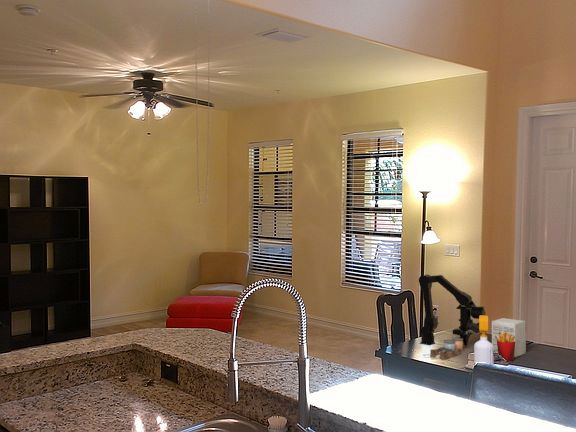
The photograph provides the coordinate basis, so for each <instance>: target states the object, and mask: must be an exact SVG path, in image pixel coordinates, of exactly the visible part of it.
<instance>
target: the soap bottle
mask: <svg viewBox="0 0 576 432" xmlns="http://www.w3.org/2000/svg"><path fill="white" fill-rule="evenodd" d="M478 320H479V321H478V323H479V331H480V333H481V335H479V338H480V339H479V340H478V341H476V342H475V343H474V345H473V349H474V350H473V354H474V355H473V357H474V358H473V359H474V360H473V363H476V362H487V363H494V355H495V354H493V344H492V342H490V341H489V340H488V335H486V334H487V333H488V332H489V316H488V315H485V316H484V315H480V316H479V319H478ZM494 364H495V363H494Z"/></svg>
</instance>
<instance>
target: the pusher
mask: <svg viewBox="0 0 576 432" xmlns="http://www.w3.org/2000/svg"><path fill="white" fill-rule="evenodd" d="M443 347H444V346H441V347H439V348H440V351H444V352H445V353H447V352H450V351H452V349H449V348H443ZM439 354H440V352H439Z"/></svg>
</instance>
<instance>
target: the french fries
mask: <svg viewBox="0 0 576 432" xmlns="http://www.w3.org/2000/svg"><path fill="white" fill-rule="evenodd" d="M506 336H508V338H507V339H506ZM511 336H512V334H510V337H509V334H508V333H507V332H505V333H504V334H502V336H501V331H499V338H500V340H499V339H498V338H497V336H496V335H495V338H496V339H497V340H498V341H497V348H498V354H499V355H501V356H502V357H503V358H504V359H505V360H507V361H511V362H514V358H515V357H514V350H515V342H514V339H515V336H513V337H512V338H511ZM498 354H497V355H498Z"/></svg>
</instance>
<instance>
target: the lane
mask: <svg viewBox="0 0 576 432" xmlns="http://www.w3.org/2000/svg"><path fill="white" fill-rule="evenodd" d="M442 347H443V348H444V346H442ZM439 352H440V354H439ZM429 354H430V355H429V356H430V358H433V359H436V358H437V356H439V360H443V361H444V360H449V359H452V358H454V357H458V356H460V355H462V352H461V348H459V349H456V350H453V351H450V352H447V353H445V352H444V351H440V347H438V348H435V349H430V353H429Z"/></svg>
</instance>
